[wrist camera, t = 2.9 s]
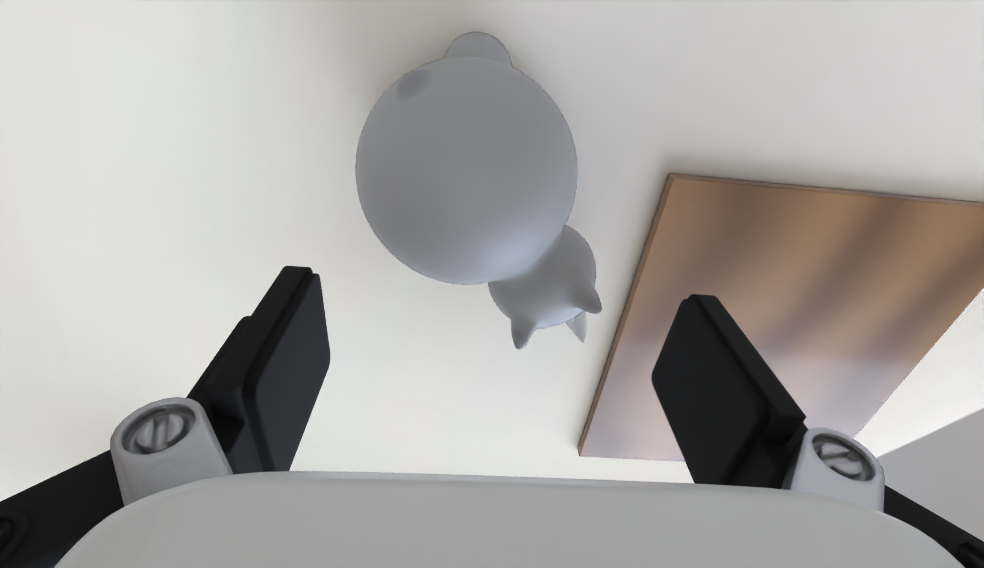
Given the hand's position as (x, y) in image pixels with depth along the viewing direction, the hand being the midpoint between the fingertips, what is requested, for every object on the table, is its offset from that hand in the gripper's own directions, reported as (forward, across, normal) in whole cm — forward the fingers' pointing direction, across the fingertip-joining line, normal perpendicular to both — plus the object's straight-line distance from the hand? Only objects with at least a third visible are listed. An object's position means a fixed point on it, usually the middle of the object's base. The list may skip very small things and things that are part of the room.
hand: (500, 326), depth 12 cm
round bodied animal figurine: (+10, 0, 0) cm, 11 cm away
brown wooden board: (+10, -17, +9) cm, 22 cm away
